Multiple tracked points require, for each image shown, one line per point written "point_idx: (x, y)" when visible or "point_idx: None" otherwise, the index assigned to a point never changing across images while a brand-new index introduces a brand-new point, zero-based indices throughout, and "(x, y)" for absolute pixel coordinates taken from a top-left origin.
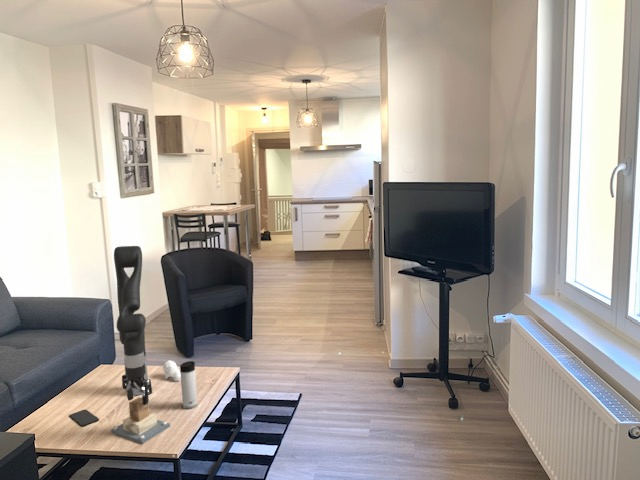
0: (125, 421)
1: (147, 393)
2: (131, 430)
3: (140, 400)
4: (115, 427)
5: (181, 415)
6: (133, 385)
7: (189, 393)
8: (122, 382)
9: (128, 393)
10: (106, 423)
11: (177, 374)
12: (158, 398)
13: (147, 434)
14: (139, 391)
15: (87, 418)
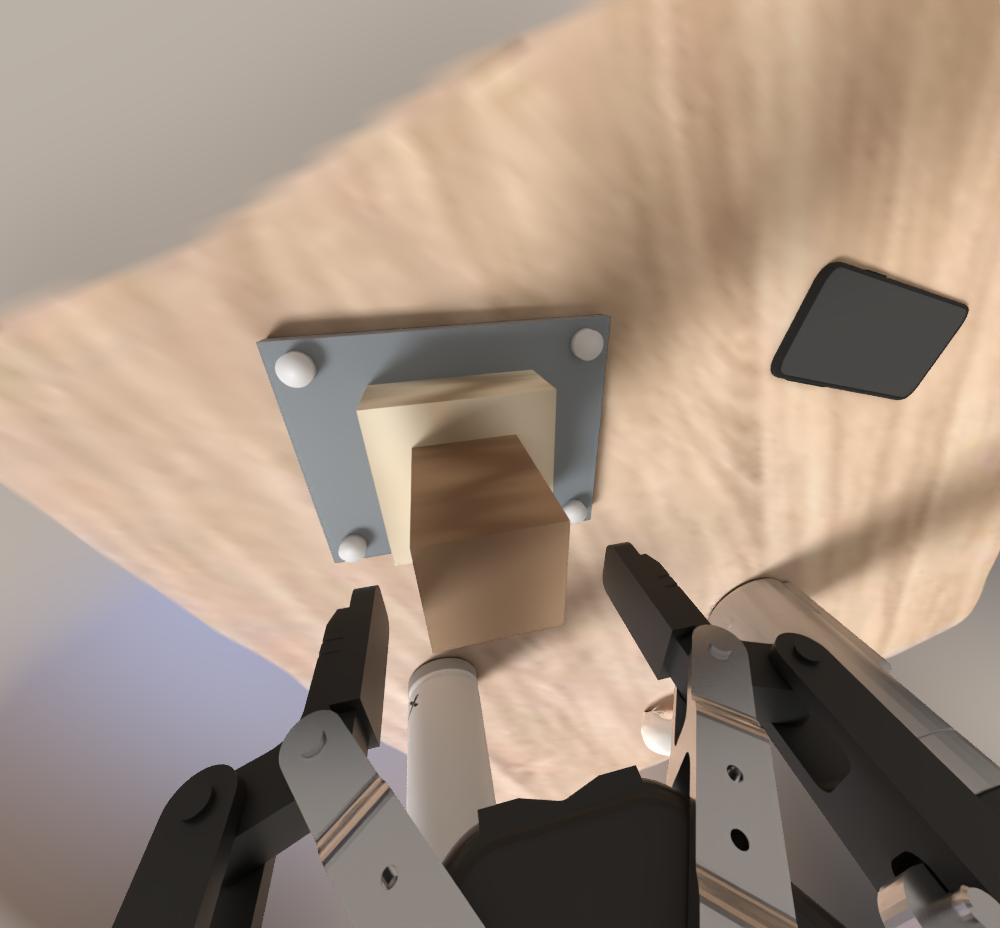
0: (522, 391)
1: (146, 859)
2: (451, 381)
3: (485, 608)
4: (591, 344)
5: (396, 626)
6: (617, 873)
7: (414, 763)
8: (937, 768)
9: (661, 615)
10: (707, 374)
11: (660, 744)
12: (624, 629)
13: (322, 420)
14: (366, 806)
15: (847, 342)
